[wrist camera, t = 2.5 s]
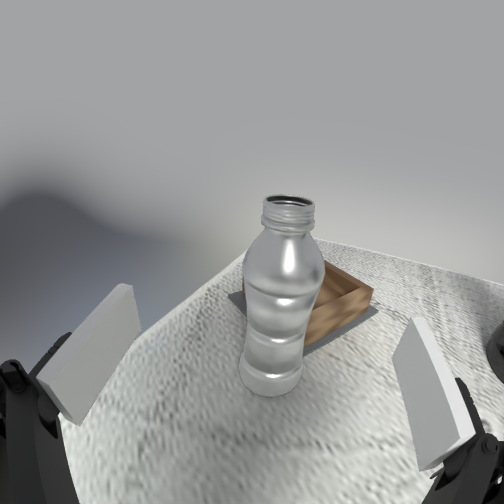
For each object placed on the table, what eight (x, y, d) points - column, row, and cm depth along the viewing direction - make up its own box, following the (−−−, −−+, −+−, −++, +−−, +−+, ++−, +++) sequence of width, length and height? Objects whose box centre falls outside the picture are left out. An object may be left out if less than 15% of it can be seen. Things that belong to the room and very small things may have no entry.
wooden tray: (308, 273, 50) (311, 252, 48) (366, 311, 39) (373, 289, 37) (242, 294, 43) (242, 271, 41) (299, 349, 32) (305, 323, 30)
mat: (312, 270, 52) (312, 268, 51) (377, 312, 40) (378, 310, 39) (228, 297, 43) (228, 294, 43) (291, 362, 31) (292, 360, 30)
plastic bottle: (249, 355, 32) (256, 187, 23) (303, 367, 30) (336, 197, 21) (230, 395, 26) (227, 205, 17) (292, 410, 24) (334, 220, 16)
